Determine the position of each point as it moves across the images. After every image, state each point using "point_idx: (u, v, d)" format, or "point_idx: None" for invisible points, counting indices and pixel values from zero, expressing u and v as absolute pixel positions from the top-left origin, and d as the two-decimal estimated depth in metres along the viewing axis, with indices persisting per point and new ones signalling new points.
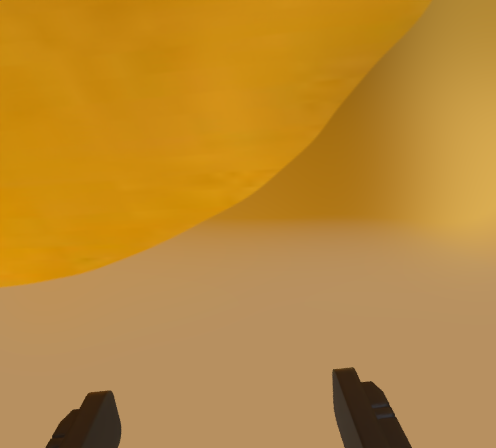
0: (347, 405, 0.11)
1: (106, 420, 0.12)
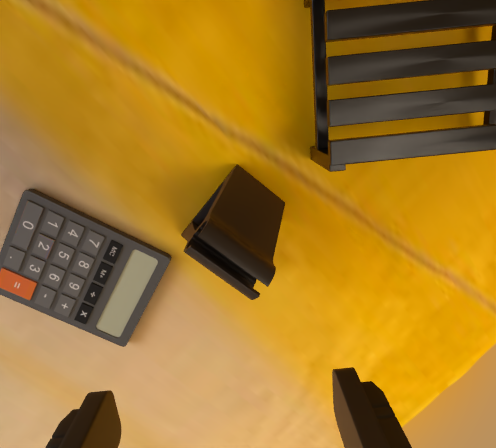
0: (347, 405, 0.11)
1: (106, 420, 0.12)
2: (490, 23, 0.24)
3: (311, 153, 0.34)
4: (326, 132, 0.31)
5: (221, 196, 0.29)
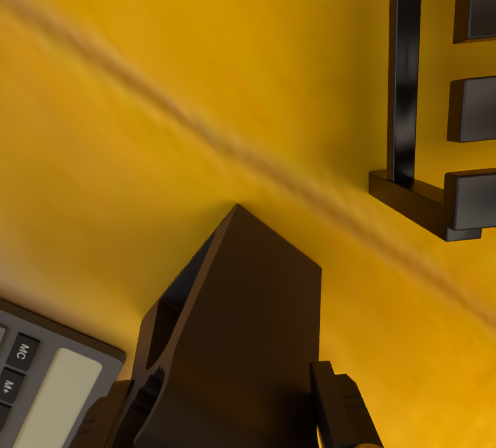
0: (320, 396, 0.11)
1: None
2: None
3: (372, 184, 0.19)
4: (412, 149, 0.16)
5: (205, 285, 0.14)
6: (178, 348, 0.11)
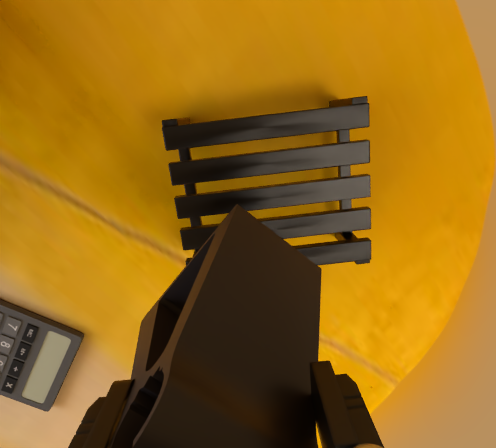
0: (320, 396, 0.11)
1: None
2: (307, 169, 0.29)
3: None
4: None
5: (204, 287, 0.14)
6: (177, 349, 0.11)
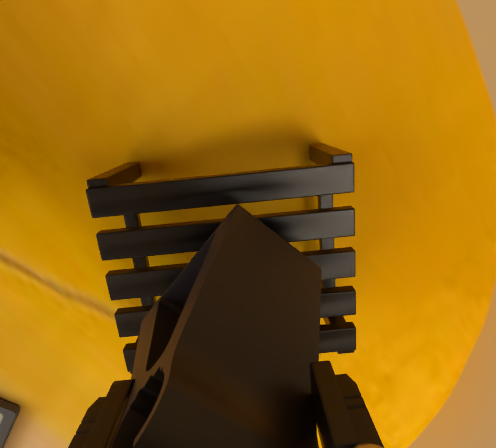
0: (320, 396, 0.11)
1: None
2: None
3: None
4: None
5: (205, 286, 0.14)
6: (178, 349, 0.11)
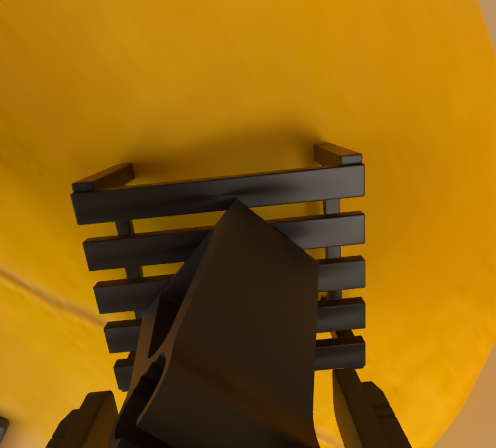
0: (347, 405, 0.11)
1: (106, 420, 0.12)
2: None
3: None
4: None
5: (204, 277, 0.14)
6: (179, 336, 0.12)
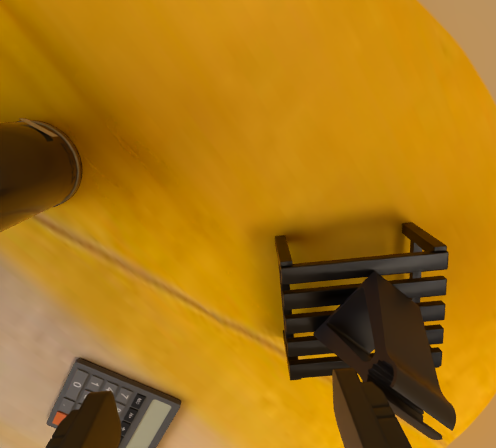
0: (347, 405, 0.11)
1: (106, 421, 0.12)
2: None
3: (283, 336, 0.46)
4: (292, 333, 0.43)
5: (383, 323, 0.29)
6: (387, 352, 0.27)
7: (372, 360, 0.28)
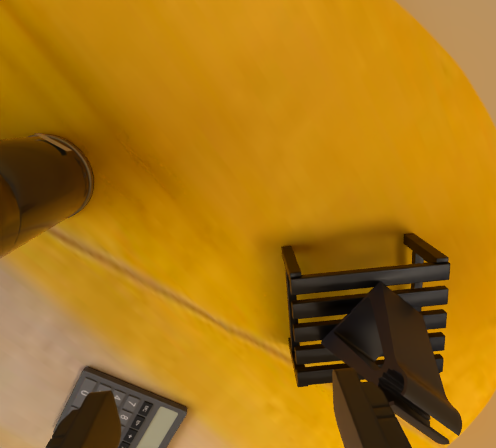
0: (347, 405, 0.11)
1: (106, 420, 0.12)
2: None
3: (289, 344, 0.47)
4: (298, 341, 0.44)
5: (391, 332, 0.31)
6: (397, 361, 0.28)
7: (382, 369, 0.29)
